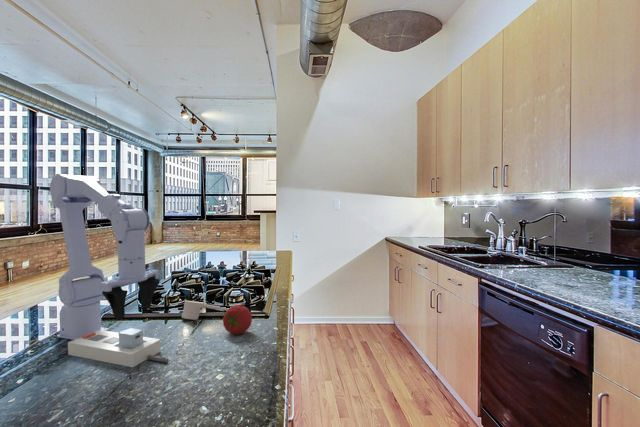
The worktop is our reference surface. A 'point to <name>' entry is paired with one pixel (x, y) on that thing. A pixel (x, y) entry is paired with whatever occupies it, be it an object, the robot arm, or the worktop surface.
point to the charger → (130, 338)
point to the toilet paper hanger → (197, 309)
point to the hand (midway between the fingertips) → (133, 312)
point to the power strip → (114, 349)
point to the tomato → (237, 319)
